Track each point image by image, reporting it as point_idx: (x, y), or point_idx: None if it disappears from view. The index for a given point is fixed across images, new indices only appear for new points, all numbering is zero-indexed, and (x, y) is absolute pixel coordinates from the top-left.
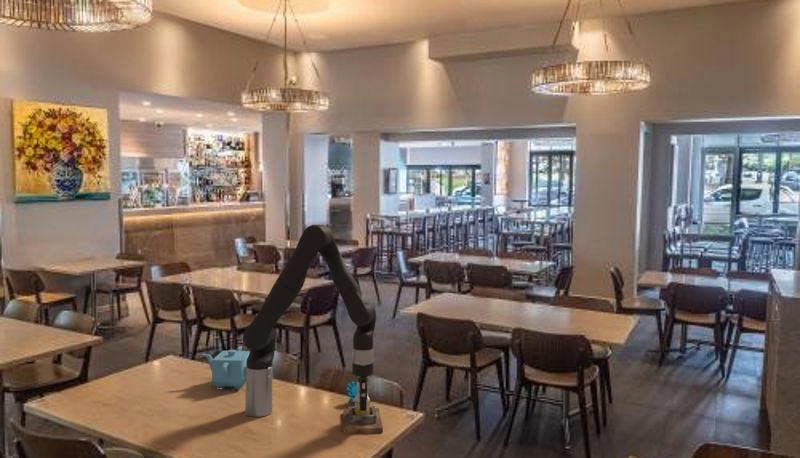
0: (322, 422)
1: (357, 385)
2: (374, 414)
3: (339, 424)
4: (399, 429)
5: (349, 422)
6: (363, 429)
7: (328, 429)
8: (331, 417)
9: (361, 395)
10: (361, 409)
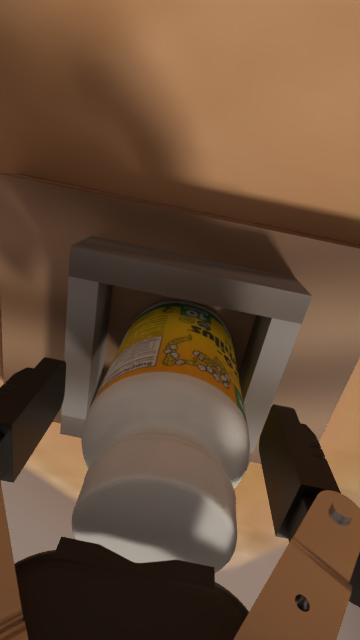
0: (274, 19)
1: (18, 627)
2: None
3: (188, 174)
4: (51, 468)
5: (87, 239)
6: (3, 308)
7: (110, 55)
8: (351, 134)
9: (85, 479)
10: (25, 371)
